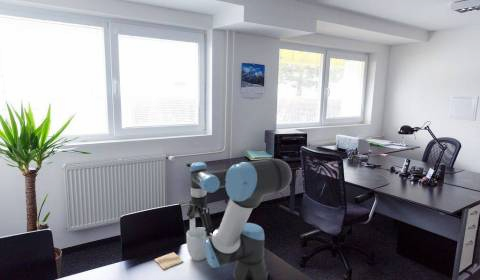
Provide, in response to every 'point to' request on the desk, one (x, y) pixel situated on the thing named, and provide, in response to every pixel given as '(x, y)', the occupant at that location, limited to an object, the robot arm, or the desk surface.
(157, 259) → the coaster
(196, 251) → the mug
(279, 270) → the desk surface
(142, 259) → the desk surface
